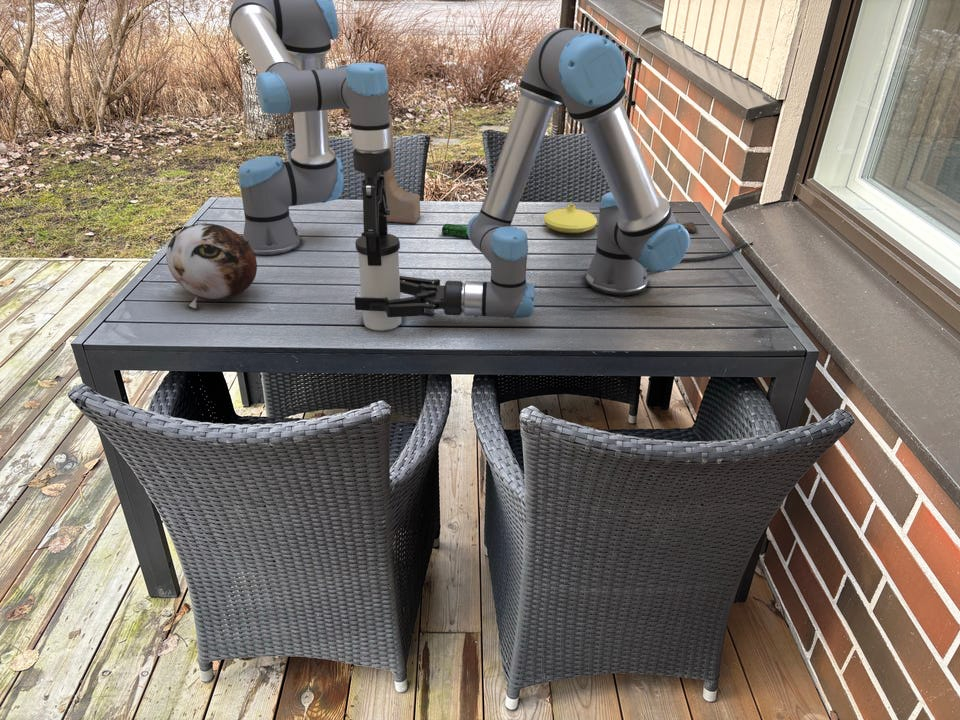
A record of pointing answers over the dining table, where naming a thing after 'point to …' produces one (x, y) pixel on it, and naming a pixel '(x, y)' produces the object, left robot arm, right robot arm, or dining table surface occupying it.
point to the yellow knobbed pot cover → (570, 220)
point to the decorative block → (399, 196)
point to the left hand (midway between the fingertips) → (378, 255)
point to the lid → (387, 244)
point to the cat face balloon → (211, 261)
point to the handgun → (455, 230)
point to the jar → (380, 289)
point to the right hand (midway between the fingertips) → (359, 294)
